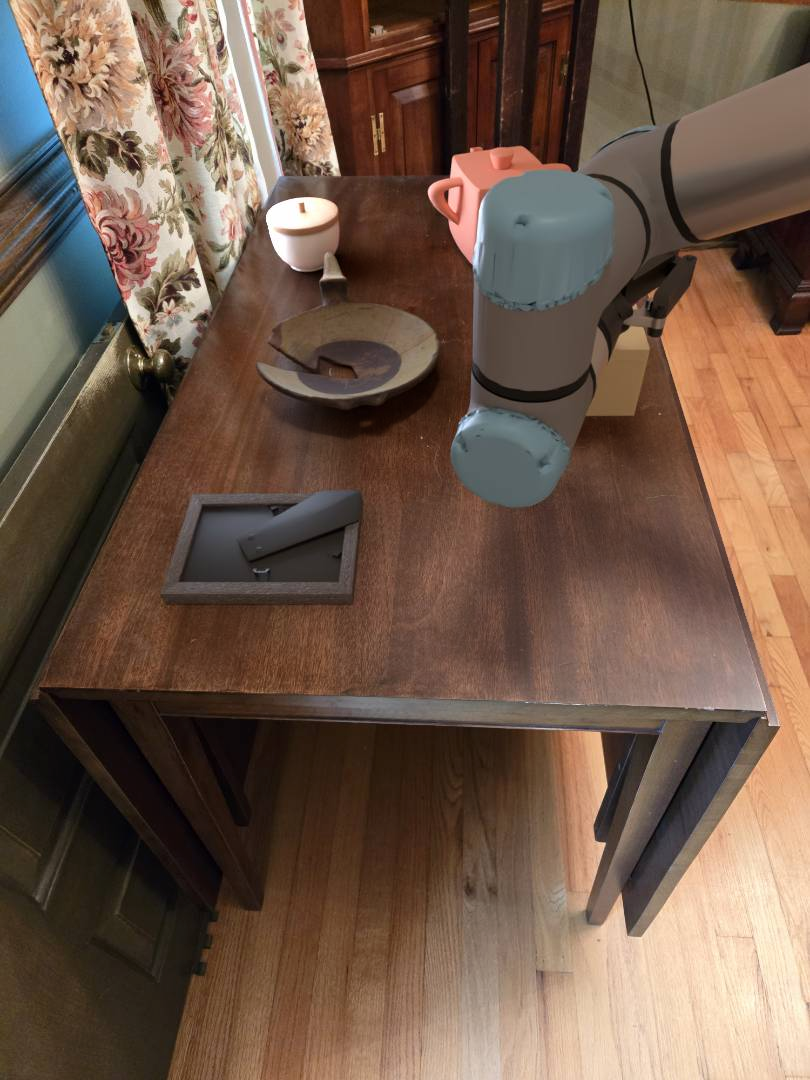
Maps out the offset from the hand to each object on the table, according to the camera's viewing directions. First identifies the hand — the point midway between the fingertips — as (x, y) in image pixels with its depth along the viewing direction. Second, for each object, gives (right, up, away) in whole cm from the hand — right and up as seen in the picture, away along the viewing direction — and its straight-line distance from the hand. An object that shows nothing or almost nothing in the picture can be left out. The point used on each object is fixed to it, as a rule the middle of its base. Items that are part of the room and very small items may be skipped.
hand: (623, 221), depth 70 cm
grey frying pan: (-27, -8, +24) cm, 37 cm away
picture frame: (-35, -32, +3) cm, 47 cm away
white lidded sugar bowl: (-36, +13, +43) cm, 57 cm away
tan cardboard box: (-1, -10, +21) cm, 23 cm away
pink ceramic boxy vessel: (-7, +17, +46) cm, 50 cm away
